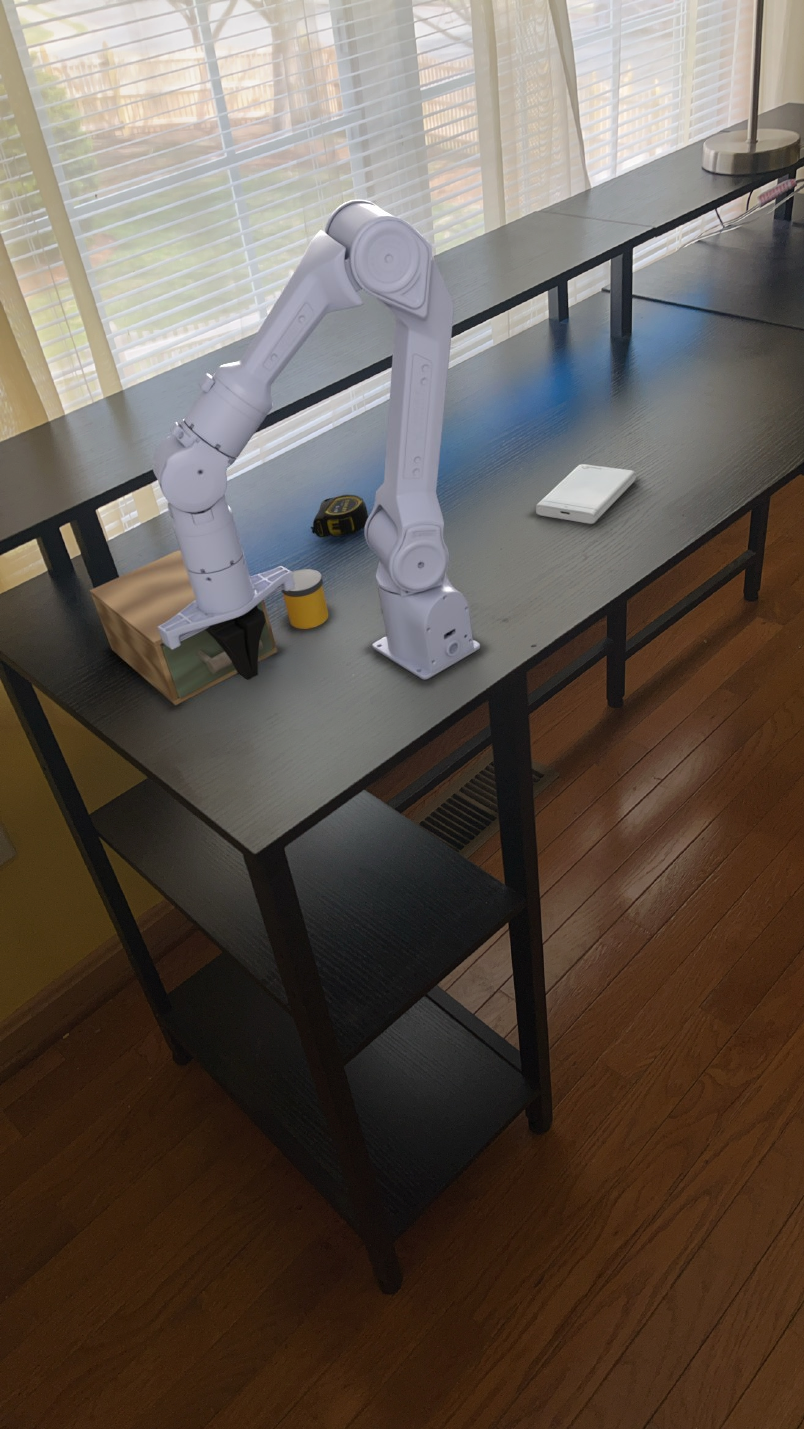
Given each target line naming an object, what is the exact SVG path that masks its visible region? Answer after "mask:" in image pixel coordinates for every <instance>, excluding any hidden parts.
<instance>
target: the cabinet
mask: <svg viewBox="0 0 804 1429" xmlns="http://www.w3.org/2000/svg"><path fill="white" fill-rule="evenodd" d="M89 593H90V595H91V598H92V601H93V603H94V606H95V608H96V612H97V614H98V616H99V619H100V622H101V626H102V627H103V630H104V632H105V634H106V638H107V640H108V643H109V645H110V648H111V651H112V652H114V653H115V655H117V656H118V657H119V658H121V659H122V660H123V661H124V662H126V664H128V666H130V667H131V668H132V669H133V670H134V671H135V672H137V674H139V675H140V676H141V677H142V678H144V680H145V681H147V682H148V683H149V684H150V685H152V686H153V687H154V688H155V689H156V690H157V691H158V692H160V694H161V695H163V697H165V698H166V699H167V700H168V701H170V702H171V703H172V704H173V705H174V706H178V705H180V704H181V703H183V702H185V701H187V700H189V699H191V698H193V697H195V696H197V695H198V694H200V693H203V692H204V691H206V690H208V689H210V688H211V687H213V686H215V685H217V684H219V683H221V682H222V681H225V680H226V679H228V678H231V677H232V676H234V675H236V674H238V673H237V671H236V670H234V671H232V672H230V673H229V674H227V675H225V676H223V677H221V678H219V679H217V680H215V681H213V682H211V683H210V684H208V685H206V686H204V687H202V688H200V689H198V690H196V691H194V692H192V693H191V694H189V695H187V696H185V697H183V698H181V699H180V698H179V697H178V695H177V692H176V689H175V686H174V684H173V681H172V678H171V675H170V672H169V669H168V666H167V663H166V660H165V657H164V654H163V651H162V648H161V646H160V645H161V644H163V641H162V638H161V635H160V633H159V630H158V626H160V625H162V624H163V623H165V622H167V621H168V620H170V619H171V618H173V617H174V616H175V615H177V614H178V613H179V612H180V611H182V610H183V609H184V608H186V607H187V606H188V605H189V604H191V603H192V602H193V601H194V600H196V599H195V596H194V592H193V589H192V586H191V583H190V580H189V577H188V574H187V570H186V567H185V564H184V561H183V558H182V555H181V552H180V549H178V550H175V551H174V552H171V553H169V554H167V555H164V556H162V557H160V558H158V559H156V560H154V561H152V562H149V563H147V564H144V565H142V566H140V567H138V568H136V569H134V570H131V571H130V572H127V573H125V574H123V575H121V576H119V577H116V578H114V579H112V580H109V581H108V582H105V583H103V584H101V585H99V586H96V587H94V588H92V589H90V590H89ZM261 603H262V607H263V611H264V615H265V618H266V622H267V626H268V630H269V634H270V638H271V641H272V645H273V649H274V650H272V651H270V652H269V653H267V654H265V655H263V656H261V657H259V658H258V663H259V662H261V661H263V660H264V659H267V658H268V657H270V656H272V655H274V654H276V653H278V648H277V645H276V640H275V637H274V632H273V629H272V626H271V622H270V617H269V613H268V609H267V606H266V602H265V599H264V600H262V601H261Z"/></svg>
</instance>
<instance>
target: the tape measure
mask: <svg viewBox="0 0 804 1429" xmlns="http://www.w3.org/2000/svg"><path fill="white" fill-rule="evenodd" d="M368 517H369V513H368V508H367V504H366V502H365V501H364V499H363V498H362V497H360V496H359V495H355V494H342V495H338V496H334V497H330V498H326V499H324V500H322V501H321V503H320V505H319V509H318V511H317V513H316V515H315V516H314V518H313V522H312V526H310V529H311V533H312V534H314V535H315V536H316V537H318V538H327V537H330V536H331V537H345V536H349V535H350V536H351V535H353V534H355V533H358V532H359V531H361V530H362V529H363V528H365V524H366V521H367V519H368Z"/></svg>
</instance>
